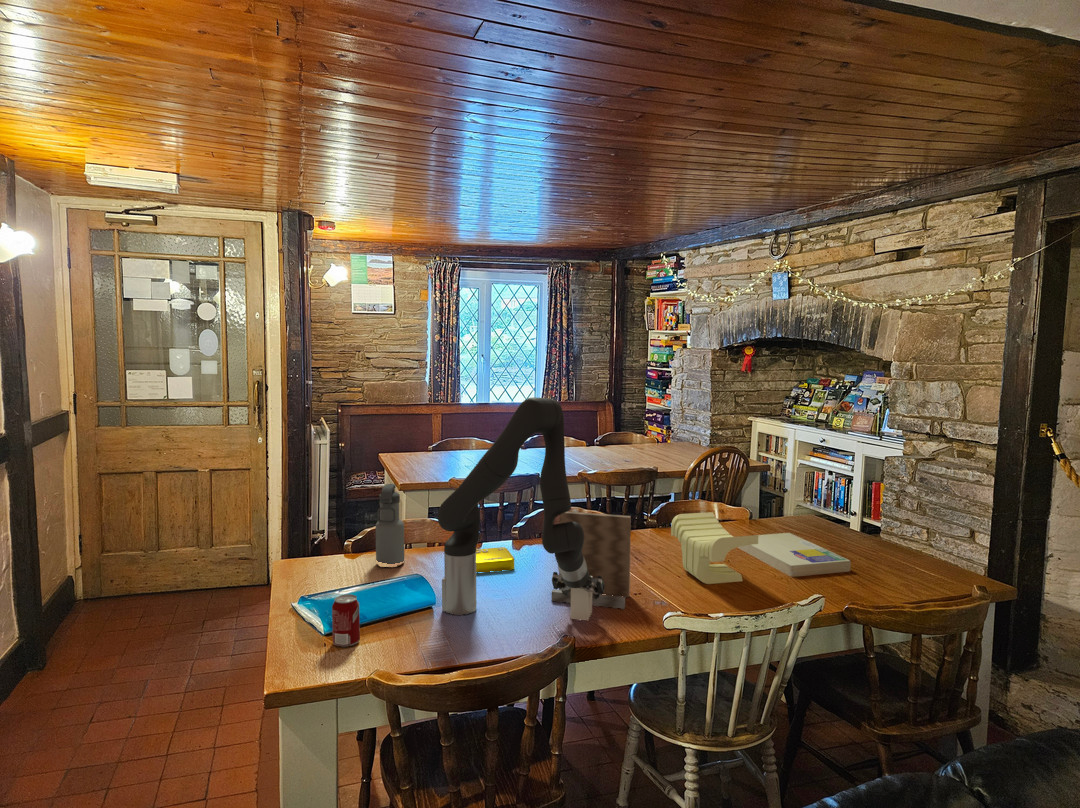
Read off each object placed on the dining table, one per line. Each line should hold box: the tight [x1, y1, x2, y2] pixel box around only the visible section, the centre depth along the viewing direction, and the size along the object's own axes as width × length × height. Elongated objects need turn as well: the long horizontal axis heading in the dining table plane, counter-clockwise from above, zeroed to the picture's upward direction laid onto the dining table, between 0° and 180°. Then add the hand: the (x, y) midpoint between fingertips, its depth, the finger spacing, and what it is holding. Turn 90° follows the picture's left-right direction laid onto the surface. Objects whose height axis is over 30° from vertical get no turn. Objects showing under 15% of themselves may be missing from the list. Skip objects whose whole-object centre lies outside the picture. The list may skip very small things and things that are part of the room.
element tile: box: [476, 546, 515, 572], centre depth 239 cm, size 15×15×5 cm
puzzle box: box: [737, 532, 852, 578], centre depth 248 cm, size 36×5×24 cm
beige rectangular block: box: [570, 576, 593, 621], centre depth 194 cm, size 5×6×11 cm
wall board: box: [551, 511, 632, 610], centre depth 207 cm, size 22×12×25 cm, turn 75°
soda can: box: [331, 593, 361, 648], centre depth 176 cm, size 7×7×12 cm
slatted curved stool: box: [670, 511, 759, 585], centre depth 228 cm, size 30×16×18 cm, turn 14°
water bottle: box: [375, 483, 405, 564], centre depth 238 cm, size 10×10×28 cm
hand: (581, 594), depth 194 cm, fingers open, 8 cm apart
